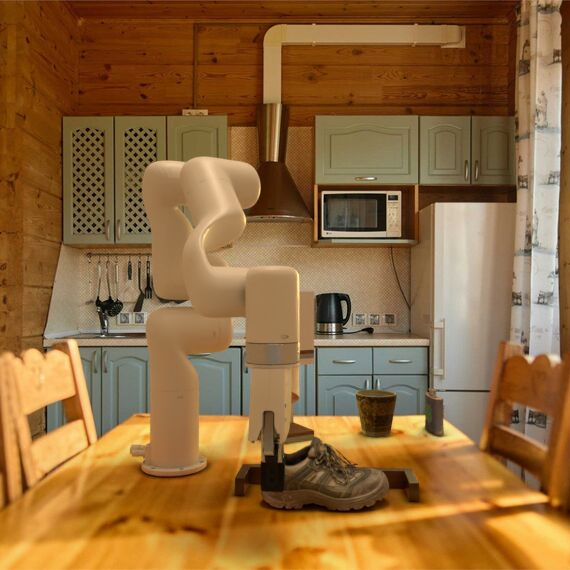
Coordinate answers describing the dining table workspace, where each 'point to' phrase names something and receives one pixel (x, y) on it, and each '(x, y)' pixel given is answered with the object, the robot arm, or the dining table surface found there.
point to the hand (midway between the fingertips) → (273, 489)
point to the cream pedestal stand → (302, 363)
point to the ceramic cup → (376, 411)
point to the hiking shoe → (326, 481)
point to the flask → (433, 413)
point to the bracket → (394, 475)
